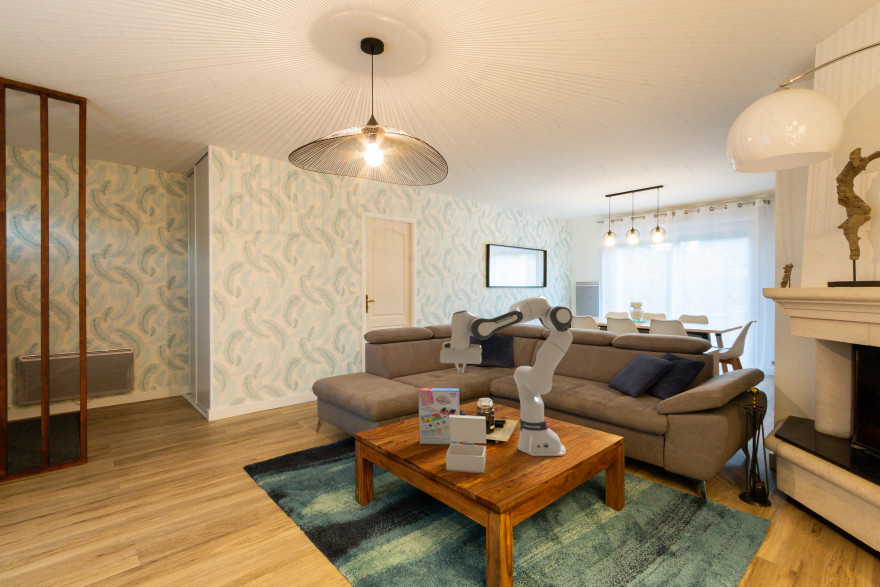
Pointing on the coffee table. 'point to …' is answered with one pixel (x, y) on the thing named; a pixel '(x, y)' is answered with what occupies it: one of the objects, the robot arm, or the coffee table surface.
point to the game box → (437, 414)
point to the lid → (468, 429)
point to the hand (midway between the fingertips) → (460, 372)
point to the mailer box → (466, 458)
